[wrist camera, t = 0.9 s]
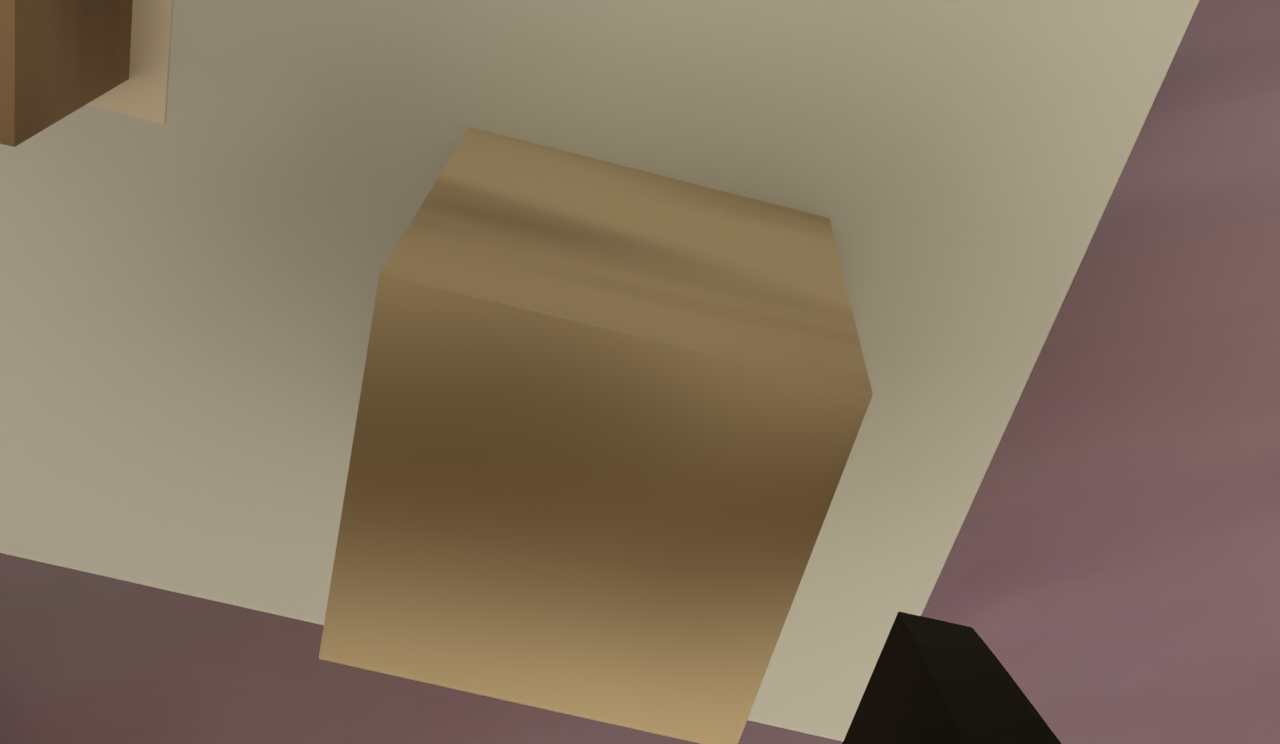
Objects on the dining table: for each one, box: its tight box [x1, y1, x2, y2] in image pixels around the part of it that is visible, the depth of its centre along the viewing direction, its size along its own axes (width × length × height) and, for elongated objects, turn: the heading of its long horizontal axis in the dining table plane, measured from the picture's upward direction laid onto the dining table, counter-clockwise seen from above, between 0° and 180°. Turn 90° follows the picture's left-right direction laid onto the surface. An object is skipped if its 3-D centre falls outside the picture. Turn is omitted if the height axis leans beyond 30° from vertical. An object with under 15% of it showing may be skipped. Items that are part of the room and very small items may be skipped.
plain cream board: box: [0, 0, 1199, 741], centre depth 16 cm, size 19×22×1 cm
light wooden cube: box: [319, 127, 873, 744], centre depth 15 cm, size 5×5×5 cm
